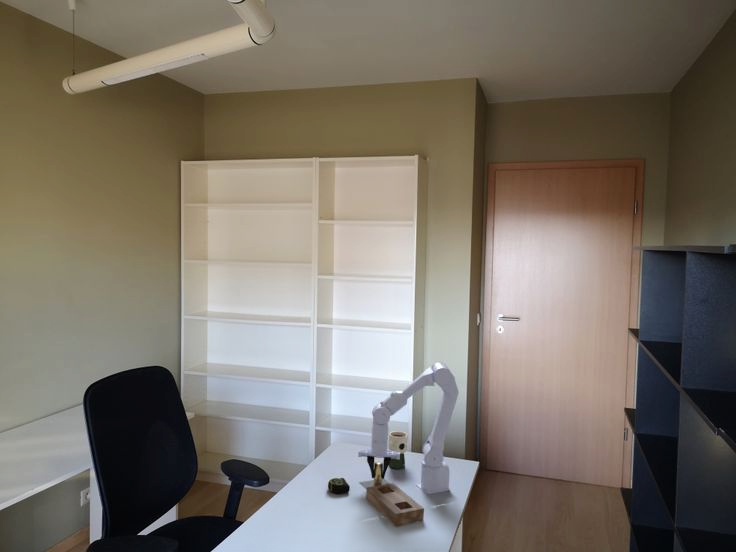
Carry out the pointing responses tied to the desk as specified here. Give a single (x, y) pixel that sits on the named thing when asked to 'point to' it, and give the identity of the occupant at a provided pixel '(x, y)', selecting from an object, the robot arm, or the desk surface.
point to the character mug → (398, 448)
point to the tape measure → (338, 486)
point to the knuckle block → (395, 504)
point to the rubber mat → (372, 483)
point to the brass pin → (378, 473)
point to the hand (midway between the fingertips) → (378, 477)
